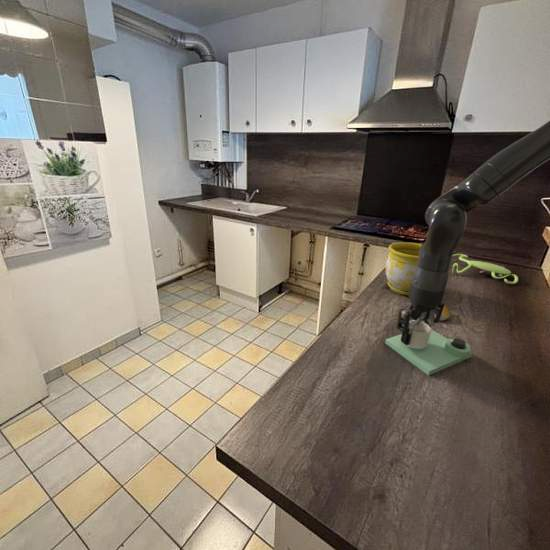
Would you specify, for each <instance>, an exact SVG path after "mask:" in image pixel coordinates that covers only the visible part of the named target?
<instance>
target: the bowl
mask: <svg viewBox="0 0 550 550" xmlns="http://www.w3.org/2000/svg"><path fill="white" fill-rule="evenodd" d="M410 320H411V321H413V322H416V321H415V320H413V319H410ZM410 327H411V324H410V323H409V327H408V328H410ZM432 330H433V329H432V327H430V326H429V325H428V324H426V323H424V322H423V321H421V322H420V324H419V326H418V327H415V329H414V330H413V332H412V336H411V340H410V344H409V345H407V346H409V347H411V348H414V349H423V348H425V347H427V345H428V343H429V339H430V335H431V332H432Z"/></svg>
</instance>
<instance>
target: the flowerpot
mask: <svg viewBox="0 0 550 550" xmlns="http://www.w3.org/2000/svg"><path fill="white" fill-rule="evenodd" d="M422 244H423V243H419V242H418V243H417V242H410V241H409V242H403V241H402V242H394V243H391V244H390V245H389V246H388V250H389V251H388V256H387V259H386V263H385V275H386V276H385V277H386V278H387V280H388V281H387V285H388V287H389V288H390V290H392V292H394V293H397V294H399V295H403V296H407V297H409V291H410V287H411V282H412V278H413V273H414V270H415V268H416V264H417V260H418V255H419V251H420V248H421V246H422Z"/></svg>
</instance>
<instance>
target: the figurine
mask: <svg viewBox="0 0 550 550" xmlns="http://www.w3.org/2000/svg"><path fill="white" fill-rule="evenodd" d="M453 257H458V260H459V261H460V262H461V261H462V262H464V263H467V266H466V267H464V268H463V269H461V270H459V263H458V262H454V263H453V265H452V269H451V270H452V271H451V275H454V271H455V267H456V271H455V272H456V273H457V274H459V275H461V274H463V273H465V272H466V271H468V270H470V268H472V267H473V268H474V269H477V270H480V271H479V273H486V272H487V273H491V277H492V278H493V279H495V280H500V279H503V282H505V284H508V285H516V284H517V283H519V277H518V275H517V274H514V273H512V272H511V270H509V269H508V268H505V267H506V266H505V265H502V264H494V263H491V262H486V261H480V260H468V259H469V256H468V255H466V254H464V253H463V254H462V253H453ZM453 257H452V258H453ZM509 276H511V277H513V278H514V280H513V281H509V280H508V279H507V278H506V277H509Z"/></svg>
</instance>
